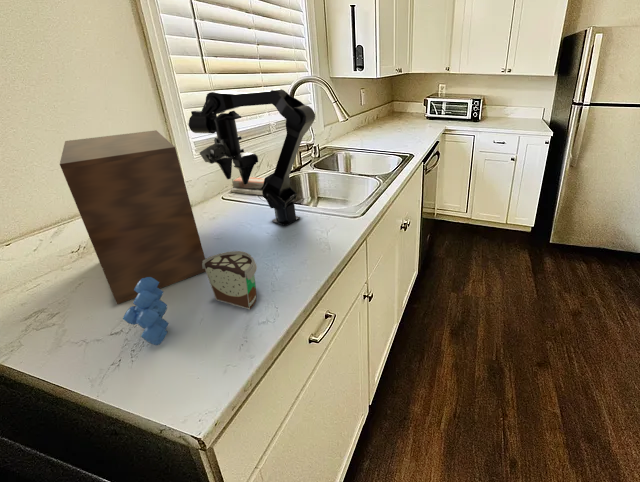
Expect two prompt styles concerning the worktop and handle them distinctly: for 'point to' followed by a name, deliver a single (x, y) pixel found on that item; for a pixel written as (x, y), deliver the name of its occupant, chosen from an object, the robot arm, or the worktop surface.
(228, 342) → the worktop surface
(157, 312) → the grapes
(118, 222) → the cupboard
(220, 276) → the food container
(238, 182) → the packaged product
